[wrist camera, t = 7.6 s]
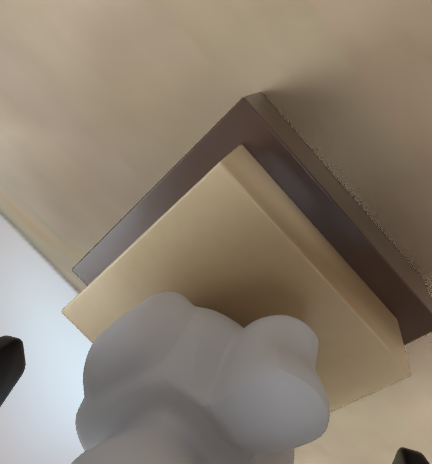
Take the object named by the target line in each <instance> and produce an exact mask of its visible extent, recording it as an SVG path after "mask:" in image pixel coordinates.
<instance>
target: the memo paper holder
mask: <svg viewBox="0 0 432 464" xmlns="http://www.w3.org/2000/svg"><path fill="white" fill-rule="evenodd" d="M72 271H73V272H74V273H75V274H76V275H77V276H78V277H79V278H80V279H81V280H82V281H83V282H84V283H85V284H86V285H87V287H86V288H85V289H84V290H83V291H82V292H80V293H79V294H78V295H77V296H76V297H75V298H74V299H73V300H72V301H71V302H70V303H69V304H68V305H67V306H66V307H65V308H63V309H62V311H61V312H62V313H63V314H64V315H65V316H66V317H67V318H68V319H69V320H70V321H71V322H72V323H73V324H74V325H75V326H76V327H77V328H78V329H79V330H80V331H81V332H82V333H83V334H84V335H85V336H86V337H87V338H88V339H89V340H90V341H91V342H92V343H94V341H95V340H96V339H97V338H98V336H99V335H100V334H101V333H102V332H103V331H105V330H106V329H107V328H108V327H109V326H110V325H111V324H112V323H114V322H115V321H116V320H117V319H118V318H120V317H121V316H122V315H124V314H125V313H126V312H128V311H129V310H131V309H132V308H134V307H135V306H137V305H138V304H140V303H141V302H143V301H144V300H146V299H148V298H149V297H151V296H153V295H156V294H159V293H163V292H176V293H179V294H181V295H183V296H185V297H186V298H187V299H188V300H189V301H190V302H191V303H192V304H193V305H194V306H196V307H201V308H208V309H211V310H214V311H217V312H219V313H221V314H223V315H225V316H227V317H229V318H230V319H232V320H233V321H235V322H237V323H238V324H239V325H241V326H242V327H243V328H245V327H246V326H247V325H249V324H250V323H252V322H254V321H256V320H258V319H260V318H263V317H268V316H273V315H286V316H291V317H294V318H297V319H299V320H301V321H302V322H304V323H305V324H306V325H307V326H309V327H310V328H311V330H312V331H313V332H314V333H315V335H316V336H317V338H318V352H317V358H316V365H315V371H316V373H317V374H318V376H319V378H320V380H321V381H322V383H323V385H324V387H325V390H326V394H327V398H328V402H329V410H330V412H332V411H335V410H337V409H339V408H341V407H343V406H346V405H348V404H350V403H352V402H354V401H357V400H359V399H361V398H363V397H365V396H367V395H370V394H372V393H374V392H376V391H378V390H381V389H383V388H385V387H387V386H389V385H392V384H394V383H396V382H398V381H400V380H402V379H405V378H407V377H409V376H411V370H410V366H409V363H408V359H407V355H406V351H405V347H404V345H406V344H408V343H410V342H412V341H414V340H416V339H418V338H420V337H422V336H424V335H426V334H428V333H430V332H432V299H431V297H430V295H429V292H428V290H427V288H426V285H425V283H424V281H423V278H422V277H421V276H420V275H419V274H418V273H417V271H416V270H415V269H414V268H413V267H412V266H411V265H410V263H409V262H408V261H407V260H406V259H405V258H404V256H403V255H402V254H401V253H400V252H399V251H398V249H397V248H396V247H395V246H394V245H393V244H392V243H391V241H390V240H389V239H388V238H387V237H386V236H385V234H384V233H383V232H382V231H381V230H380V229H379V227H378V226H377V225H376V224H375V223H374V222H373V221H372V219H371V218H370V217H369V216H368V215H367V214H366V212H365V211H364V210H363V209H362V208H361V207H360V205H359V204H358V203H357V202H356V201H355V200H354V199H353V197H352V196H351V195H350V194H349V193H348V192H347V190H346V189H345V188H344V187H343V186H342V185H341V183H340V182H339V181H338V180H337V179H336V178H335V176H334V175H333V174H332V173H331V172H330V171H329V170H328V168H327V167H326V166H325V165H324V164H323V163H322V161H321V160H320V159H319V158H318V157H317V156H316V154H315V153H314V152H313V151H312V150H311V149H310V148H309V146H308V145H307V144H306V143H305V142H304V141H303V139H302V138H301V137H300V136H299V135H298V134H297V132H296V131H295V130H294V129H293V128H292V127H291V126H290V124H289V123H288V122H287V121H286V120H285V119H284V117H283V116H282V115H281V114H280V113H279V112H278V110H277V109H276V108H275V107H274V106H273V105H272V104H271V102H270V101H269V100H268V99H267V98H266V97H265V95H264V94H263V93H262V92H258V93H255V94H252V95H249V96H246V97H243V98H242V99H241V100H240V101H239V102H238V103H237V104H236V105H235V106H234V107H233V108H232V109H231V110H230V111H229V112H228V113H227V114H226V115H225V116H224V117H223V118H222V119H221V120H220V121H219V122H218V123H217V124H216V125H215V126H214V127H213V128H212V129H211V130H210V131H209V132H208V133H207V134H206V135H205V136H204V137H203V138H202V139H201V140H200V141H199V142H198V143H197V144H196V145H195V146H194V147H193V148H192V149H191V150H190V151H189V152H188V153H187V154H186V155H185V156H184V157H183V158H182V159H181V160H180V161H179V162H178V163H177V164H176V165H175V166H174V167H173V168H172V169H171V170H170V171H169V172H168V173H167V174H166V175H165V176H164V177H163V178H162V179H161V180H160V181H159V182H158V183H157V184H156V185H155V186H154V187H153V188H152V189H151V190H150V191H149V192H148V193H147V194H146V195H145V196H144V197H143V198H142V199H141V200H140V201H139V202H138V203H137V204H136V205H135V206H134V207H133V208H132V209H131V210H130V211H129V212H128V213H127V214H126V215H125V216H124V217H123V218H122V219H121V220H120V221H119V222H118V223H117V224H116V225H115V226H114V227H113V228H112V229H111V230H110V231H109V232H108V233H107V234H106V235H105V236H104V237H103V238H102V239H101V240H100V241H99V242H98V243H97V244H96V245H95V246H94V247H93V248H92V249H91V250H90V251H89V252H88V253H87V254H86V255H85V256H84V257H83V258H82V259H81V260H80V262H79V263H78V264H77V265H76V266H75V267H74V268H73V269H72Z"/></svg>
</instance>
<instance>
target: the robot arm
mask: <svg viewBox="0 0 432 464" xmlns="http://www.w3.org/2000/svg"><path fill="white" fill-rule="evenodd" d="M25 365H26V363H25V356H24V348H23V342H22V341H21V340H20V339H19V338H15V337H12V336H2V337H0V406H1V405H2V403H3V402H4V401H5V399H6V398H7V396H8V395H9V393H10V392H11V390H12V389H13V387H14V386H15V384H16V383H17V381H18V380H19V378H20V377H21V376H22V374H23V372H24V369H25ZM392 464H429V462H428V461H427V459H426V458H425V457H424V455H423V454H422V453H420V452H418V451H414V450H411V449H407V448H404V447H401V448H400V449H399V450H398V451H397V454H396V456H395V458H394V461H393V463H392Z"/></svg>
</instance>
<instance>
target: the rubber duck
mask: <svg viewBox="0 0 432 464" xmlns="http://www.w3.org/2000/svg"><path fill="white" fill-rule="evenodd" d="M317 352H318V338H317V336H316V335H315V333H314V332H313V331H312V330H311V328H310V327H309V326H307V325H306V324H305V323H304V322H302V321H301V320H299V319H297V318H294V317H291V316H286V315H273V316H268V317H263V318H260V319H258V320H256V321H254V322H252V323H250V324H249V325H247V326H246V327H245V328H243V327H242V326H241V325H239V324H238V323H237V322H235V321H233V320H232V319H230V318H229V317H227V316H225V315H223V314H221V313H219V312H217V311H214V310H211V309H208V308H201V307H196V306H194V305H193V304H192V303H191V302H190V301H189V300H188V299H187V298H186V297H185V296H183V295H181V294H179V293H176V292H163V293H159V294H156V295H153V296H151V297H149V298H148V299H146V300H144V301H143V302H141V303H140V304H138V305H137V306H135V307H134V308H132V309H131V310H129V311H128V312H126V313H125V314H124V315H122V316H121V317H120V318H118V319H117V320H116V321H115V322H114V323H112V324H111V325H110V326H109V327H108V328H107V329H106V330H105V331H103V332H102V333H101V334H100V335H99V336H98V338H97V339H96V340H95V341H94V343H93V344H92V346H91V348H90V350H89V353H88V355H87V358H86V362H85V366H84V372H83V385H84V399H83V401H82V403H81V405H80V407H79V409H78V412H77V415H76V430H77V434H78V437H79V440H80V442H81V444H82V446H83V448H84V450H85V452H84V453H83V454H81V455H80V456H79V457H78V458H77V459H75V460H74V461H73V462H72V464H294V448H296V447H299V446H302V445H304V444H307V443H309V442H312V441H314V440H316V439H317V438H319V437H321V436H322V434H323V433H324V432H325V431H326V428H327V426H328V422H329V417H330V410H329V402H328V398H327V394H326V390H325V387H324V385H323V383H322V381H321V380H320V378H319V376H318V374H317V373H316V371H315V365H316V358H317Z"/></svg>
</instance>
